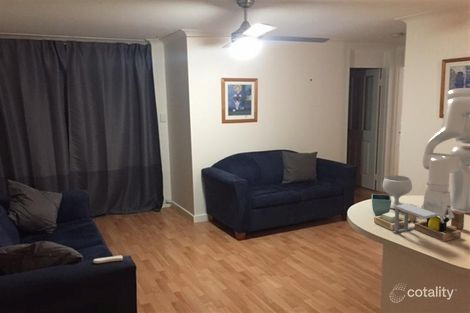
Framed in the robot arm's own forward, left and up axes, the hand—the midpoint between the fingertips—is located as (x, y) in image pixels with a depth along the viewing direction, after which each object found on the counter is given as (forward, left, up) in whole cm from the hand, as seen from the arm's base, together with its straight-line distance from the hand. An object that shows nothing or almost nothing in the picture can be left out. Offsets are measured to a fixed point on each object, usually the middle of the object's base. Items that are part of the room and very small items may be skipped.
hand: (436, 228), depth 160 cm
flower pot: (+3, -29, -3) cm, 29 cm away
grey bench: (+4, -2, -2) cm, 5 cm away
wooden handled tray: (-5, 0, -2) cm, 6 cm away
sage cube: (+9, -17, -3) cm, 19 cm away
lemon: (0, 0, -3) cm, 3 cm away
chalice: (-13, -35, -3) cm, 37 cm away
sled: (+4, -16, -2) cm, 17 cm away
